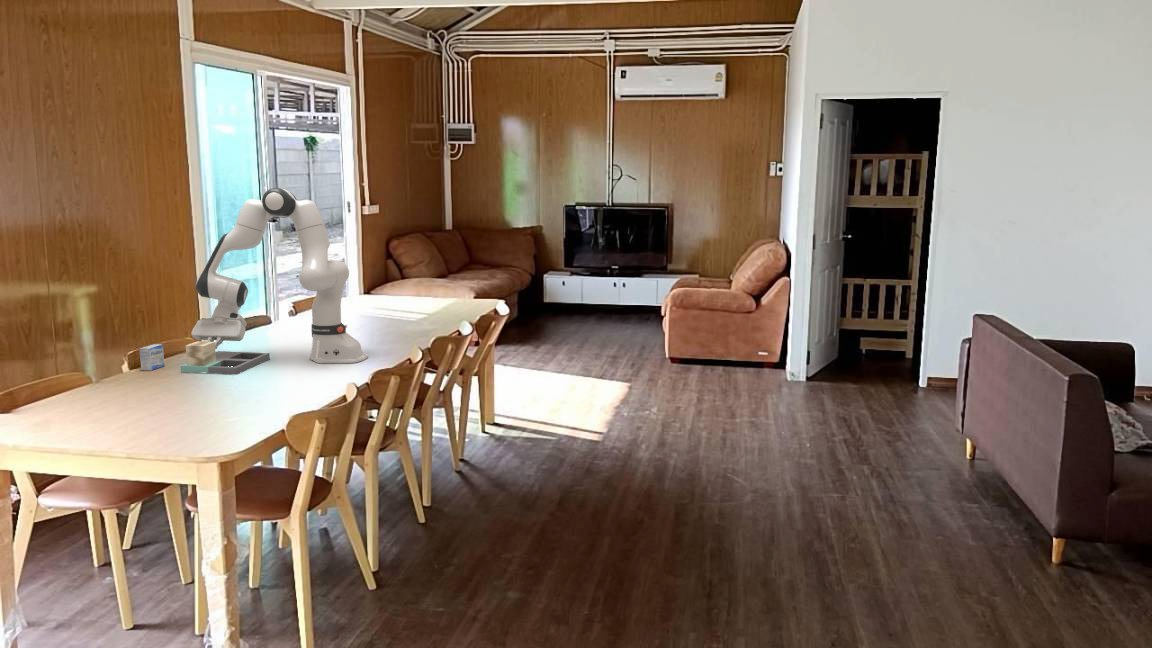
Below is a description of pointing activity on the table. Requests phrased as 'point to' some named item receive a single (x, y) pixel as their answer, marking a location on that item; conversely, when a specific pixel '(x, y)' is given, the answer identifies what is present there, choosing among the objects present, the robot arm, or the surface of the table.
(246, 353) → the tray
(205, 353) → the birch block
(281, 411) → the table surface
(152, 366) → the medicine box
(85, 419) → the table surface
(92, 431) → the table surface
